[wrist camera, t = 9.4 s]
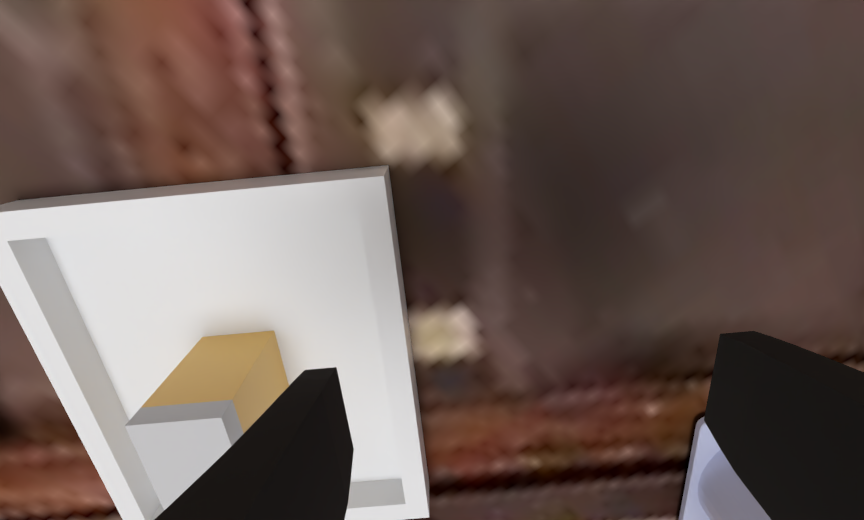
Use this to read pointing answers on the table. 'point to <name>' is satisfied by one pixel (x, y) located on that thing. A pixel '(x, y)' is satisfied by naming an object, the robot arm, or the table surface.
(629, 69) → the table surface
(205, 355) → the tan and grey block
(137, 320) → the parts tray
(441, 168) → the table surface
